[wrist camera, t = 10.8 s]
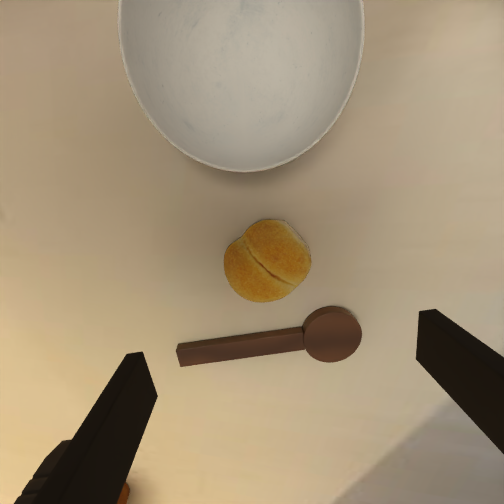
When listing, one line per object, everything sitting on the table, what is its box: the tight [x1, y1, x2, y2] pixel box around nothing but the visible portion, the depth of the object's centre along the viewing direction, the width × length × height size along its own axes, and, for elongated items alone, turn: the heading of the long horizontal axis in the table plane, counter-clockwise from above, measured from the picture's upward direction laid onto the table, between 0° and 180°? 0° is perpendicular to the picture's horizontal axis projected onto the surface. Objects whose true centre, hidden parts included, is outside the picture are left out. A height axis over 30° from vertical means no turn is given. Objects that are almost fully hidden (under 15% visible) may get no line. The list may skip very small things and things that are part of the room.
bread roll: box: [224, 219, 312, 302], centre depth 26 cm, size 8×9×4 cm
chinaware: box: [118, 0, 365, 172], centre depth 19 cm, size 15×15×8 cm
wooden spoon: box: [176, 306, 362, 367], centre depth 30 cm, size 7×22×1 cm, turn 98°
